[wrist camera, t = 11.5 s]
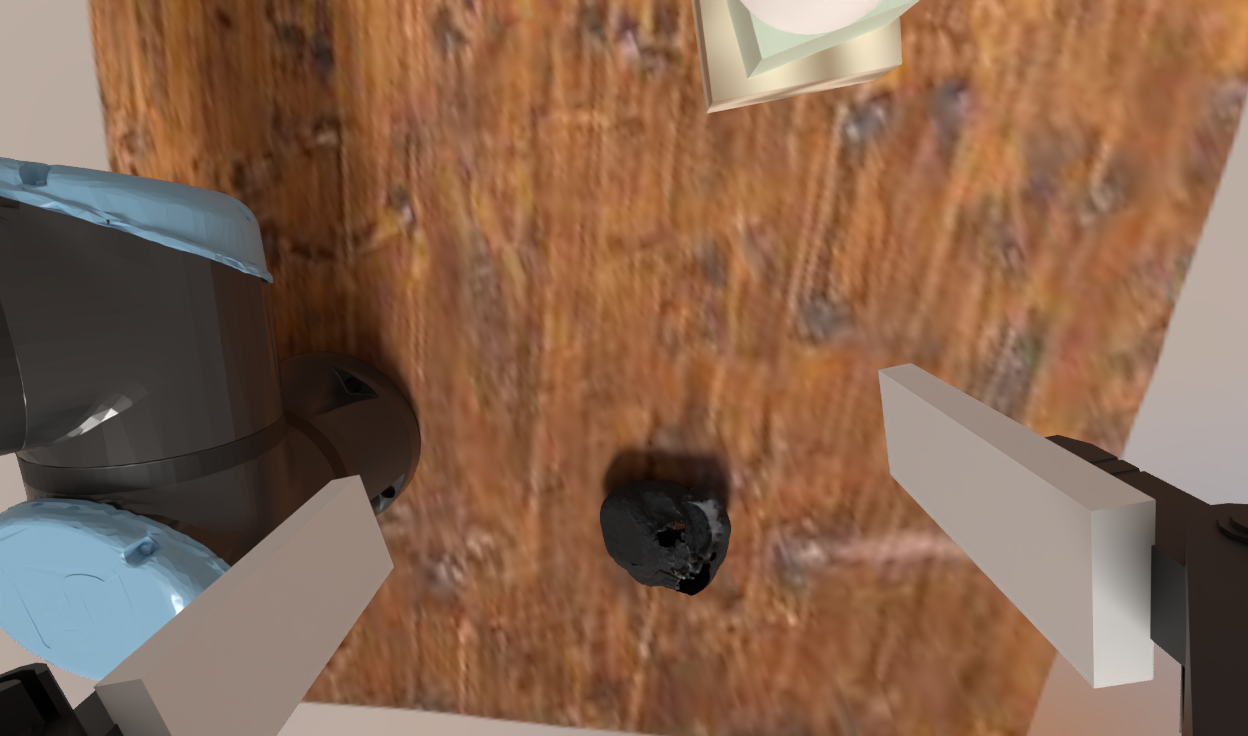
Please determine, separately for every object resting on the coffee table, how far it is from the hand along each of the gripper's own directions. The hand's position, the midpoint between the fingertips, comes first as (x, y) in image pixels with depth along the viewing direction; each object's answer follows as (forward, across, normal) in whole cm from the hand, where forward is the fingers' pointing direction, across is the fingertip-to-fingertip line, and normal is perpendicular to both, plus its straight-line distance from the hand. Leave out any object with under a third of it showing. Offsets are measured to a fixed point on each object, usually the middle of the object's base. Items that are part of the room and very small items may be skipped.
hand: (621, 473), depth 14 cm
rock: (+32, -2, -20) cm, 38 cm away
